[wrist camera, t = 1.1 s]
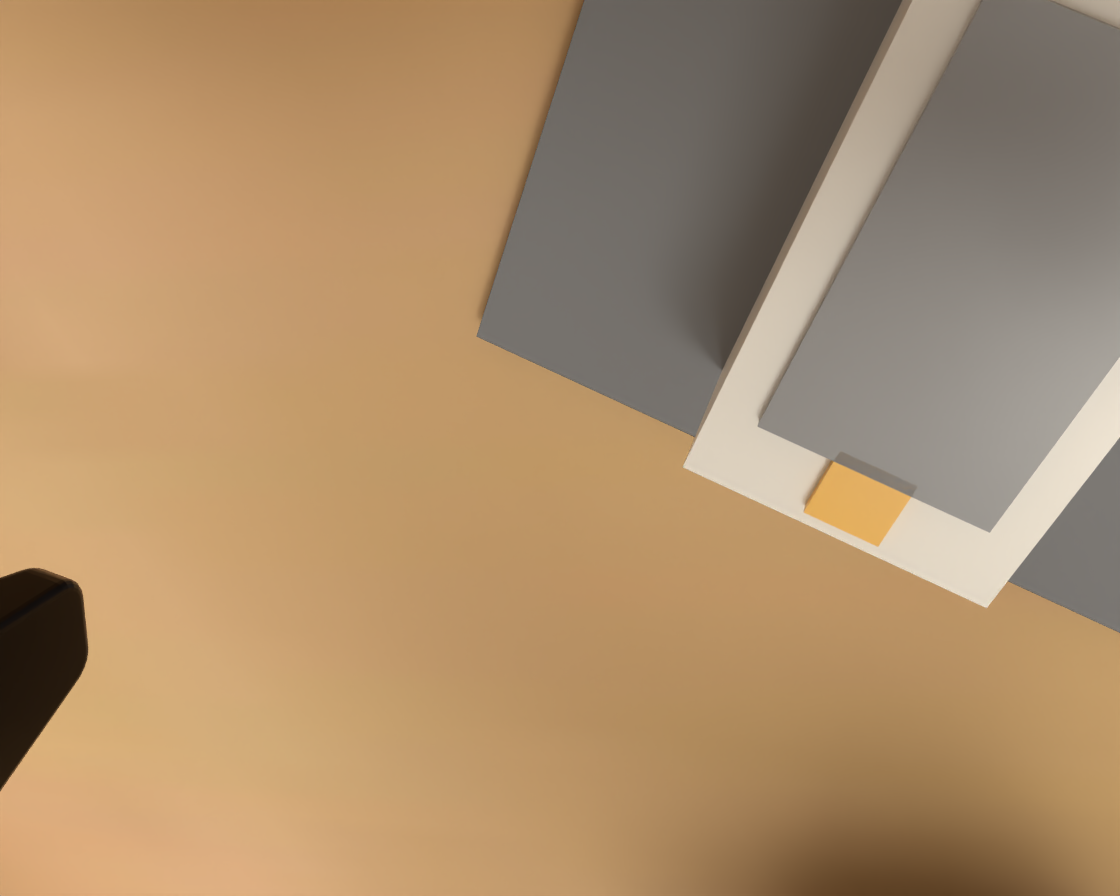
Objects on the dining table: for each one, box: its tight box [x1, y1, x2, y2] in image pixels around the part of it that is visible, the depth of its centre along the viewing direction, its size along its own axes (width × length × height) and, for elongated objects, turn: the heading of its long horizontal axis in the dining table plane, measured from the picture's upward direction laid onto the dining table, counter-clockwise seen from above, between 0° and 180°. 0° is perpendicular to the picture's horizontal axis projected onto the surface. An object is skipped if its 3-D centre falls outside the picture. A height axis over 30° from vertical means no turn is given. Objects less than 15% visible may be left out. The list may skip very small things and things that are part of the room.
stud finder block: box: [683, 0, 1120, 608], centre depth 15 cm, size 5×9×4 cm, turn 161°
